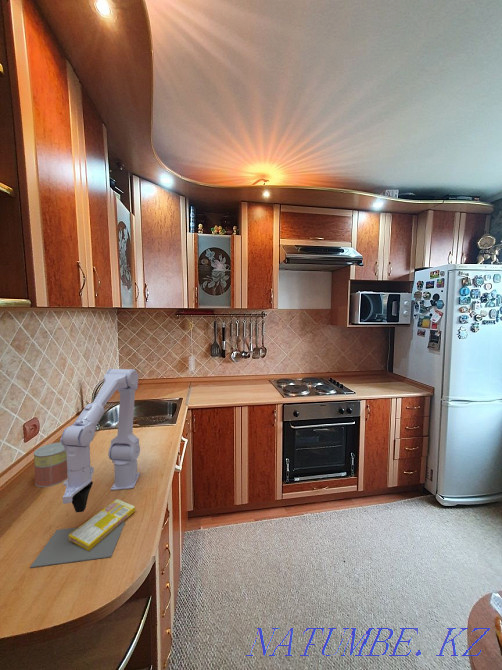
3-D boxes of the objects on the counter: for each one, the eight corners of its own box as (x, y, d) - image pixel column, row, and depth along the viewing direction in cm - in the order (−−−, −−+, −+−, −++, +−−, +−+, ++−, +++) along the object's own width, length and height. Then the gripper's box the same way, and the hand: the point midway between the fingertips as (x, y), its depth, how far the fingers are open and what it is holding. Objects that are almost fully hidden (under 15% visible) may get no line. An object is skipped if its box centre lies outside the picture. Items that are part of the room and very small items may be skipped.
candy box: (68, 541, 74) (88, 552, 71) (67, 534, 74) (88, 544, 71) (117, 504, 89) (136, 511, 86) (117, 498, 89) (135, 505, 86)
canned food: (61, 467, 112) (60, 439, 111) (76, 474, 107) (75, 445, 106) (29, 481, 102) (27, 451, 101) (44, 490, 97) (42, 458, 96)
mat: (56, 530, 78) (56, 529, 78) (125, 522, 81) (125, 521, 81) (29, 568, 66) (29, 567, 66) (111, 557, 69) (111, 556, 69)
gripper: (76, 454, 84) (77, 495, 85) (49, 482, 70) (51, 531, 71) (100, 452, 85) (101, 493, 86) (78, 479, 71) (80, 528, 72)
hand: (80, 510), depth 78 cm, fingers closed
